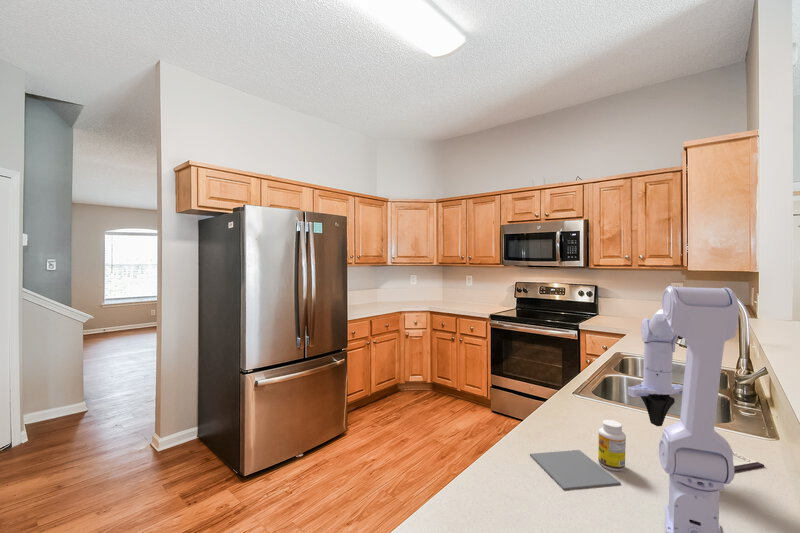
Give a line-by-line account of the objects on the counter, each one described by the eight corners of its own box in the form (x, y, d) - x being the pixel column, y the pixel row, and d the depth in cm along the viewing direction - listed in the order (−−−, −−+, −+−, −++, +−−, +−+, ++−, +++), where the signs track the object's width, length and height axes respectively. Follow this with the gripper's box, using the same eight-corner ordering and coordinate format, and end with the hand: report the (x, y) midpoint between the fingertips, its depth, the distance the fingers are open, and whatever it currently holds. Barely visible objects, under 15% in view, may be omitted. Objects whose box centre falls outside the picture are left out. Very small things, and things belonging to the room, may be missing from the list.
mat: (579, 451, 94) (579, 449, 94) (620, 484, 80) (620, 482, 80) (529, 455, 92) (529, 453, 92) (563, 489, 78) (563, 488, 78)
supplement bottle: (596, 457, 92) (597, 416, 91) (622, 461, 90) (623, 420, 89) (600, 469, 86) (601, 425, 86) (627, 474, 84) (628, 430, 84)
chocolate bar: (669, 454, 92) (722, 446, 97) (669, 458, 92) (722, 449, 97) (707, 475, 84) (764, 464, 88) (707, 479, 84) (764, 468, 88)
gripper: (669, 363, 95) (667, 415, 95) (618, 365, 92) (617, 419, 93) (695, 371, 88) (693, 428, 88) (641, 374, 85) (640, 432, 86)
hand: (656, 424), depth 90 cm, fingers closed
